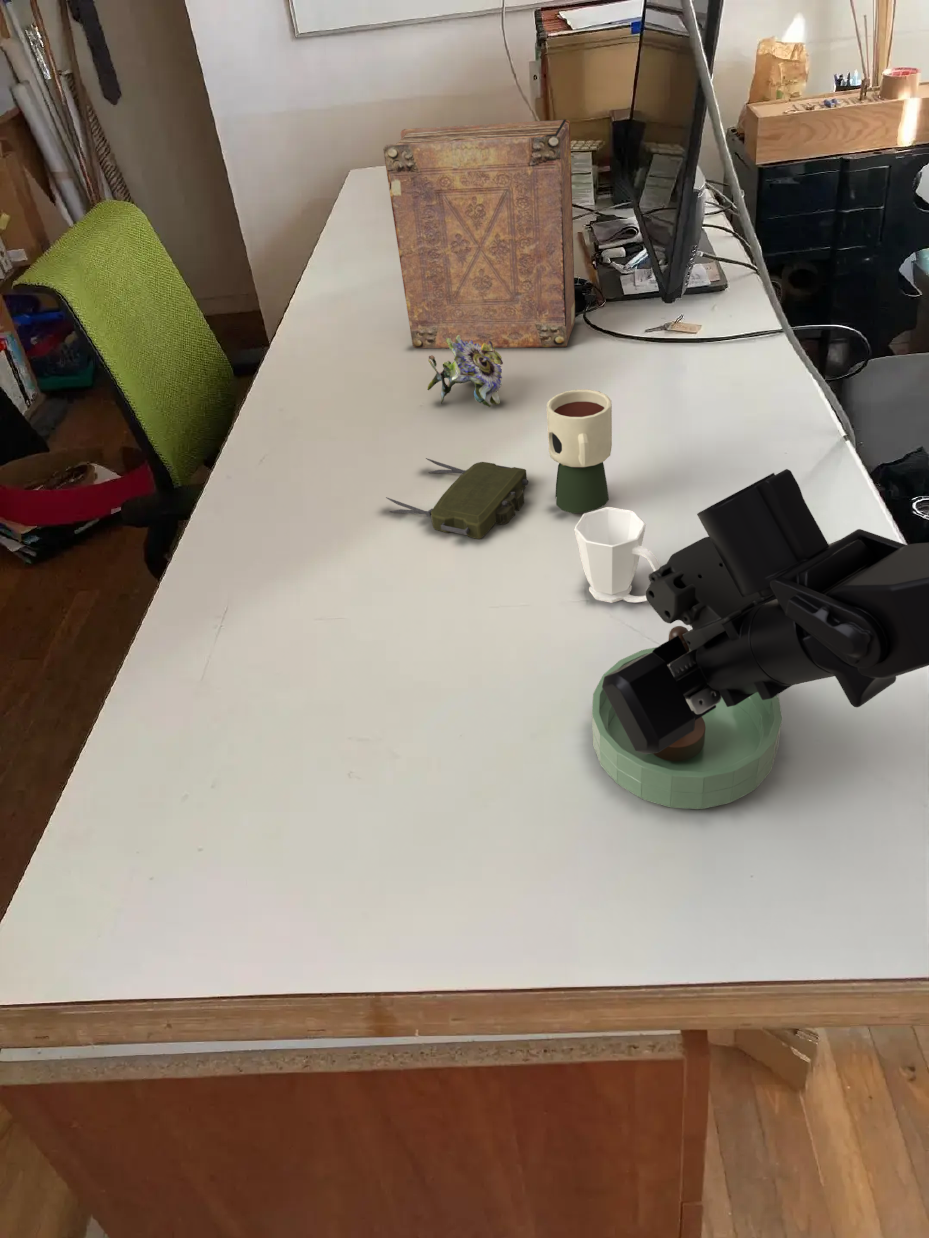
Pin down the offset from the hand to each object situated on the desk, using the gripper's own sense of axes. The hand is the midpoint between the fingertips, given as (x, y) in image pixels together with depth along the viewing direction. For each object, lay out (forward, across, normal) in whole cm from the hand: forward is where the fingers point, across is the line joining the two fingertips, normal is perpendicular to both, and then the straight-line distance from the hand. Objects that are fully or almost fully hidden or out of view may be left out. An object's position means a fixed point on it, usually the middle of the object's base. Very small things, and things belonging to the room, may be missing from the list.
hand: (664, 675), depth 75 cm
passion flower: (+52, -23, -41) cm, 70 cm away
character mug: (+29, -18, -18) cm, 39 cm away
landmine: (+36, -8, -26) cm, 45 cm away
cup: (+18, -10, -7) cm, 22 cm away
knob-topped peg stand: (+4, 0, +6) cm, 7 cm away
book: (+63, -39, -52) cm, 91 cm away
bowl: (+4, -1, +6) cm, 8 cm away
